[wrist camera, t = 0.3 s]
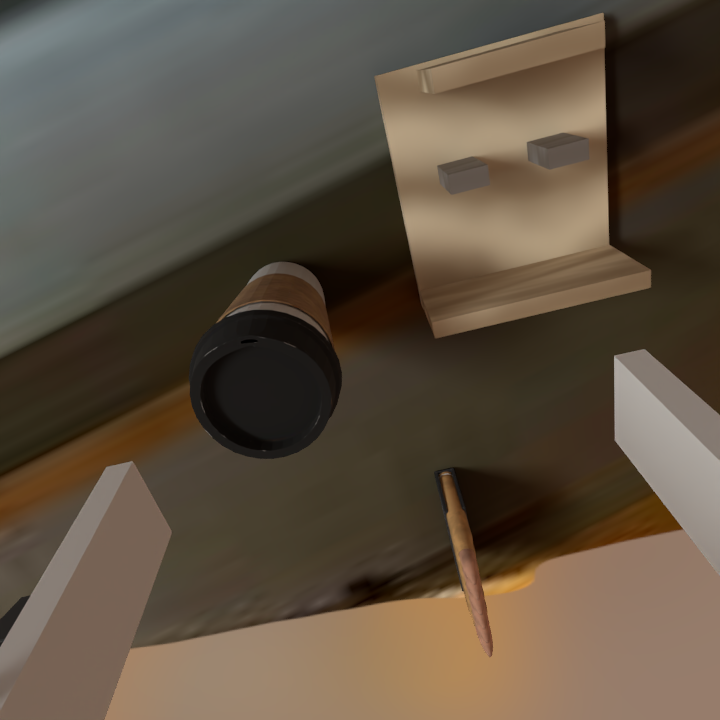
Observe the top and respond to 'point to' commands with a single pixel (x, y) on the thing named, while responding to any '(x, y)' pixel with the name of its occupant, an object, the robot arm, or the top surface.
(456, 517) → the ammunition clip
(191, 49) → the top surface
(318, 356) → the coffee cup
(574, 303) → the wooden shelf with pegs
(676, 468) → the robot arm
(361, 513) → the top surface
